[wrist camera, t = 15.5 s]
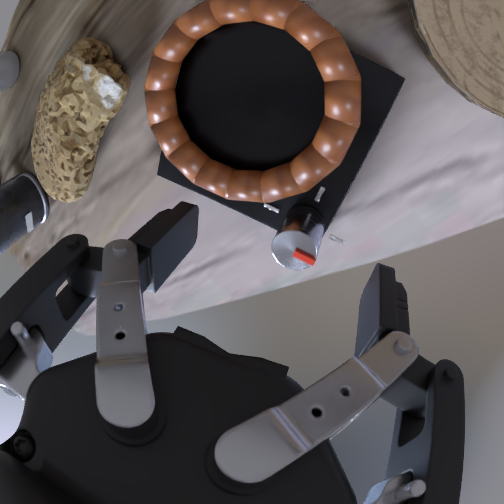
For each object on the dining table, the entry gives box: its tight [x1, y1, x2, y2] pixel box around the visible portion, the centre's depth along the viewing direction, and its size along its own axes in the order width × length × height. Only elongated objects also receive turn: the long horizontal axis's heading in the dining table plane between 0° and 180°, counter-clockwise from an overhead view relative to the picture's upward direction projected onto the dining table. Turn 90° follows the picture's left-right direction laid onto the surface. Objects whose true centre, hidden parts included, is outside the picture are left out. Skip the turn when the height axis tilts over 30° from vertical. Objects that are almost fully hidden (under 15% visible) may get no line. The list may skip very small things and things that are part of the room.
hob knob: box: [271, 205, 325, 270], centre depth 25 cm, size 4×4×5 cm
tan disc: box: [408, 0, 504, 118], centre depth 12 cm, size 16×16×3 cm
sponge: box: [31, 38, 130, 203], centre depth 28 cm, size 13×8×20 cm
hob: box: [157, 21, 405, 245], centre depth 25 cm, size 19×19×3 cm
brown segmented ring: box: [145, 0, 361, 203], centre depth 21 cm, size 17×17×3 cm
